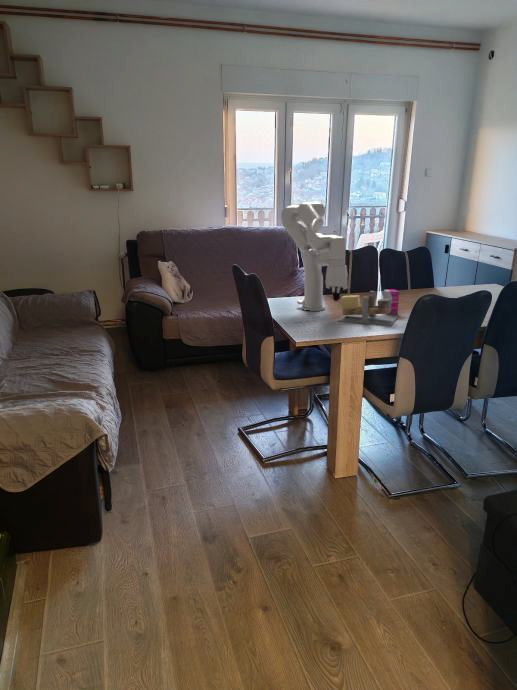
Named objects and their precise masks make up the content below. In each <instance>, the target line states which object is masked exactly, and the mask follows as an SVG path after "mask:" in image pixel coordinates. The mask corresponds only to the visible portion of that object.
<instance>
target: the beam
mask: <svg viewBox="0 0 517 690" xmlns="http://www.w3.org/2000/svg"><path fill="white" fill-rule="evenodd" d="M368 297H369V300H368V314H377V315H390V314H389V313H390V312H391V300H390V298H389V299H383V298H379V299H378V300H377V305H375V306H372V296H370V295H369V296H368ZM360 307H361V309H343V312H342V316H344V315H362V305H360Z"/></svg>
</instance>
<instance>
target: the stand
mask: <svg viewBox="0 0 517 690" xmlns="http://www.w3.org/2000/svg"><path fill="white" fill-rule="evenodd" d="M369 296H372V306H376V305H375V302H376V291H374V290H369ZM369 296H362V305H361V306H362V315H342V317H340V318H339V319H338V320H337V322H341V323H349V324H350V323H351V324H361V325H363V324H364V325H372V326H373V325H374V326H385V327H392V325H394V323H395V322H396V320H397V319H398V316H392V315H391V316H390V315H388V316H387V315H380V314H368V300H369Z"/></svg>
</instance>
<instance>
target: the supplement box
mask: <svg viewBox="0 0 517 690" xmlns="http://www.w3.org/2000/svg"><path fill="white" fill-rule="evenodd" d="M382 297H383V298H382V299H389V298H390V300H391V312H390V313H389V314H388V315H395V314H398V312H399V311H398V309H399V299H400V291H399V290H397V289H391V288H390V289H383V296H382Z"/></svg>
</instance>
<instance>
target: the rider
mask: <svg viewBox="0 0 517 690" xmlns="http://www.w3.org/2000/svg"><path fill="white" fill-rule="evenodd" d="M360 297H361V296H360V294H355V295H353V294H351V295H343V296H340V301H341V311H342V313H343V309H361V307H360V306H361V298H360Z"/></svg>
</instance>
